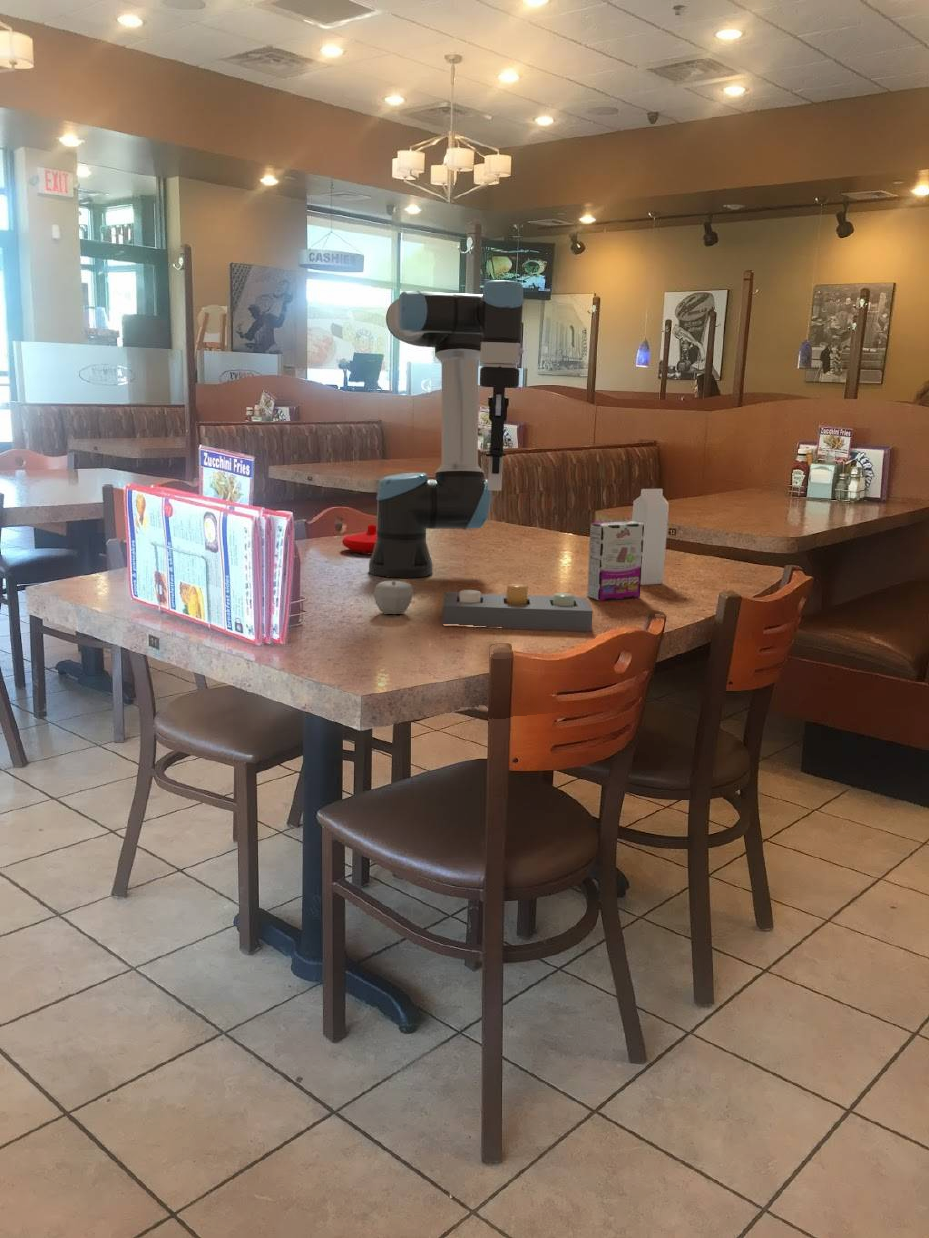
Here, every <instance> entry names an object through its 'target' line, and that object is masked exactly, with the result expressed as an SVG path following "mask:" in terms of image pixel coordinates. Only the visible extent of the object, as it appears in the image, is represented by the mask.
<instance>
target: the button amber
mask: <svg viewBox="0 0 929 1238" xmlns="http://www.w3.org/2000/svg"><path fill="white" fill-rule="evenodd" d="M528 589H529V587H528V585H526V584H520V583H511V584H510V583H509V584H507V585H506V595H507V596H506V604H524V605H527V595H528V591H529V590H528Z"/></svg>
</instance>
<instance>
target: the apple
mask: <svg viewBox="0 0 929 1238" xmlns="http://www.w3.org/2000/svg"><path fill="white" fill-rule="evenodd" d="M413 595H414V590H413V586H412V584H411V583H408V582H405V581H401V580H386V581H380V582H378V583H377V584H376V586H375V587H374V590H373V598H374V602H375V605H376V606H377V608H378V610H379V612H381V613H382V612H383V613H385V614H384V615H386V614H401V615H402V613H405V611H407V610H408V608H409V606H410V605H411V603H412V599H413ZM383 613H382V614H383Z"/></svg>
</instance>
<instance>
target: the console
mask: <svg viewBox="0 0 929 1238" xmlns="http://www.w3.org/2000/svg"><path fill="white" fill-rule="evenodd" d="M506 596H507V594H504V593H503V594H501V593H500V594H498V593H495V594H494V593H493V594H492V593H481V595H480V603H468V602H459V601H460V592H444V596H443V602H442V615H441V617H442V618H441V620H442V621H441V625H442V624H459V625H473V626H486V627H502V628H515V629H514V630H531V631H532V630H533V631H559V632H561V631H562V632H587V633H588V632H590V633H592V631H593V630H592V629H593V613H594V612H593V608H592V606H591V604H590V603H589V600H588V597H585V596H584V597H583V596H574V606H553V595H529V594H527V605H524V604H506Z"/></svg>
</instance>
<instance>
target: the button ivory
mask: <svg viewBox="0 0 929 1238" xmlns="http://www.w3.org/2000/svg"><path fill="white" fill-rule="evenodd" d="M459 593H460V601H459V602H468V603H480V595H481V594H482V593H481V591H479V590H474V589H463V590H460V591H459Z"/></svg>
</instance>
